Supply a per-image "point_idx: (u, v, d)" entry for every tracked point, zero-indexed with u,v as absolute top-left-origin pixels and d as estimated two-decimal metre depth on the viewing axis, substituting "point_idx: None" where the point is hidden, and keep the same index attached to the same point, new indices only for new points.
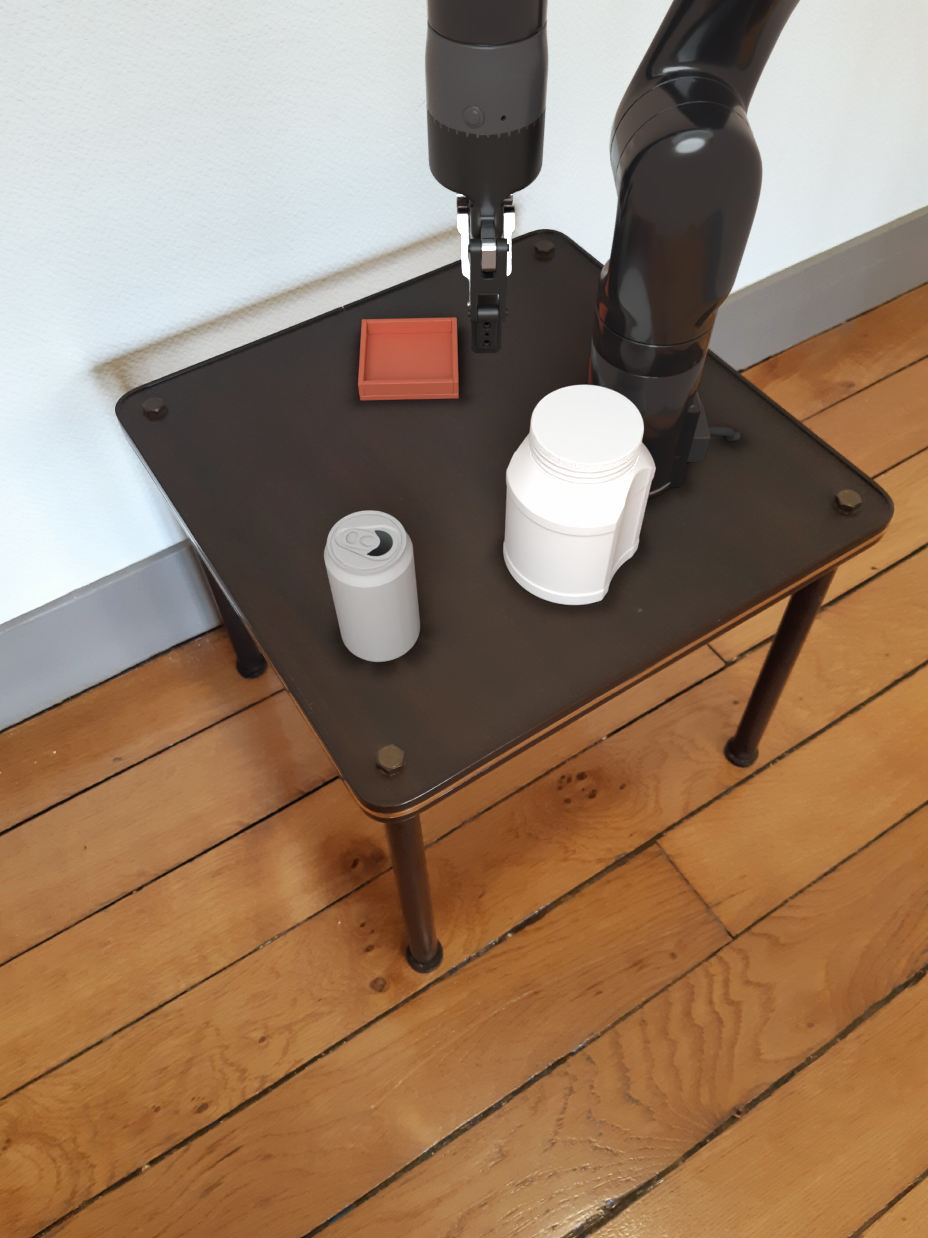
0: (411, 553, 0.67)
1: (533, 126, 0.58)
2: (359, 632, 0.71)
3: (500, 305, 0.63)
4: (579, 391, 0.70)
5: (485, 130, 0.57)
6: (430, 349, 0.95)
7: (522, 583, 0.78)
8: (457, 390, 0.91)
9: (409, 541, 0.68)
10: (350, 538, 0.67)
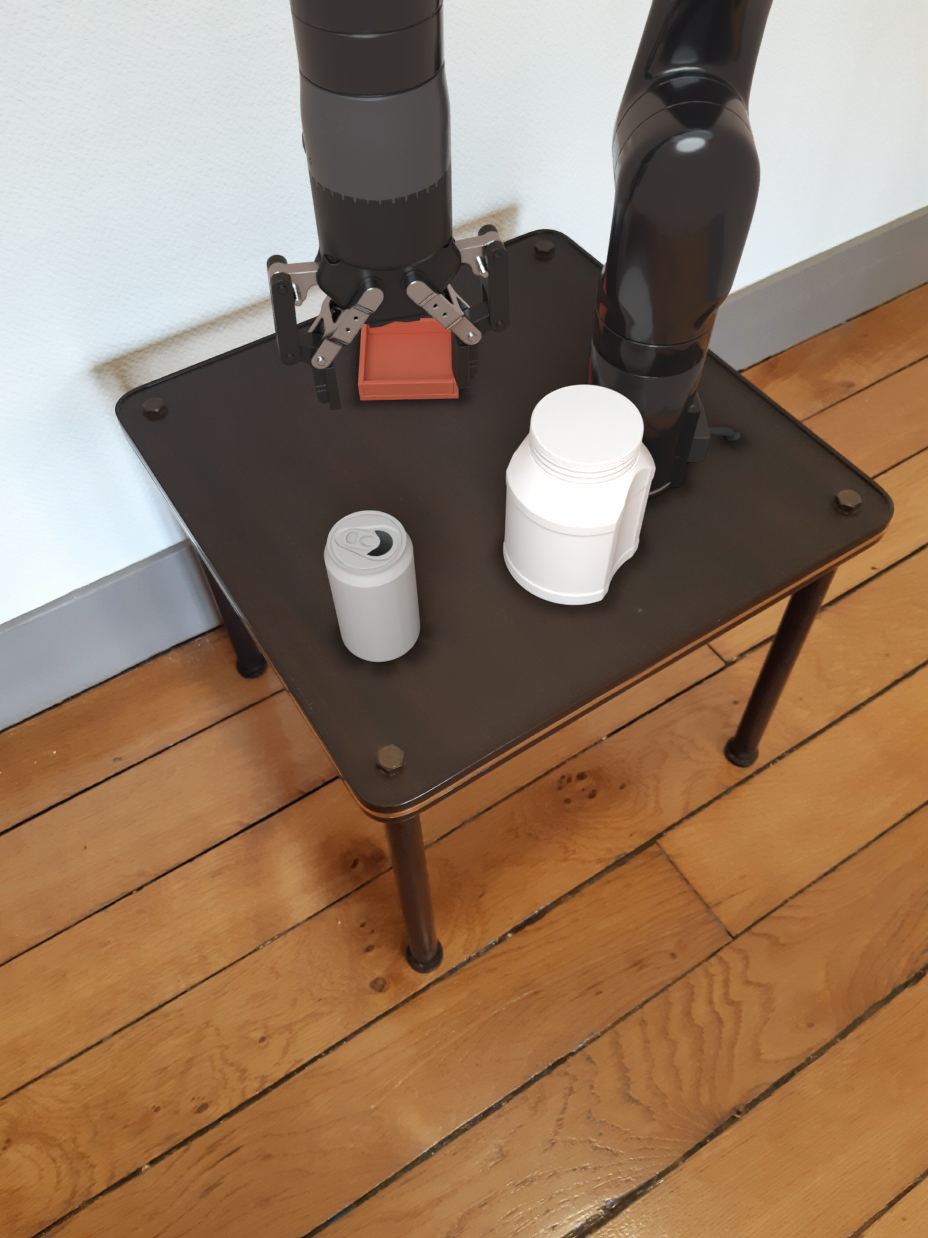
0: (411, 553, 0.67)
1: (343, 200, 0.47)
2: (359, 632, 0.71)
3: None
4: (579, 391, 0.70)
5: None
6: (430, 349, 0.95)
7: (522, 583, 0.78)
8: (457, 390, 0.91)
9: (409, 541, 0.68)
10: (350, 538, 0.67)
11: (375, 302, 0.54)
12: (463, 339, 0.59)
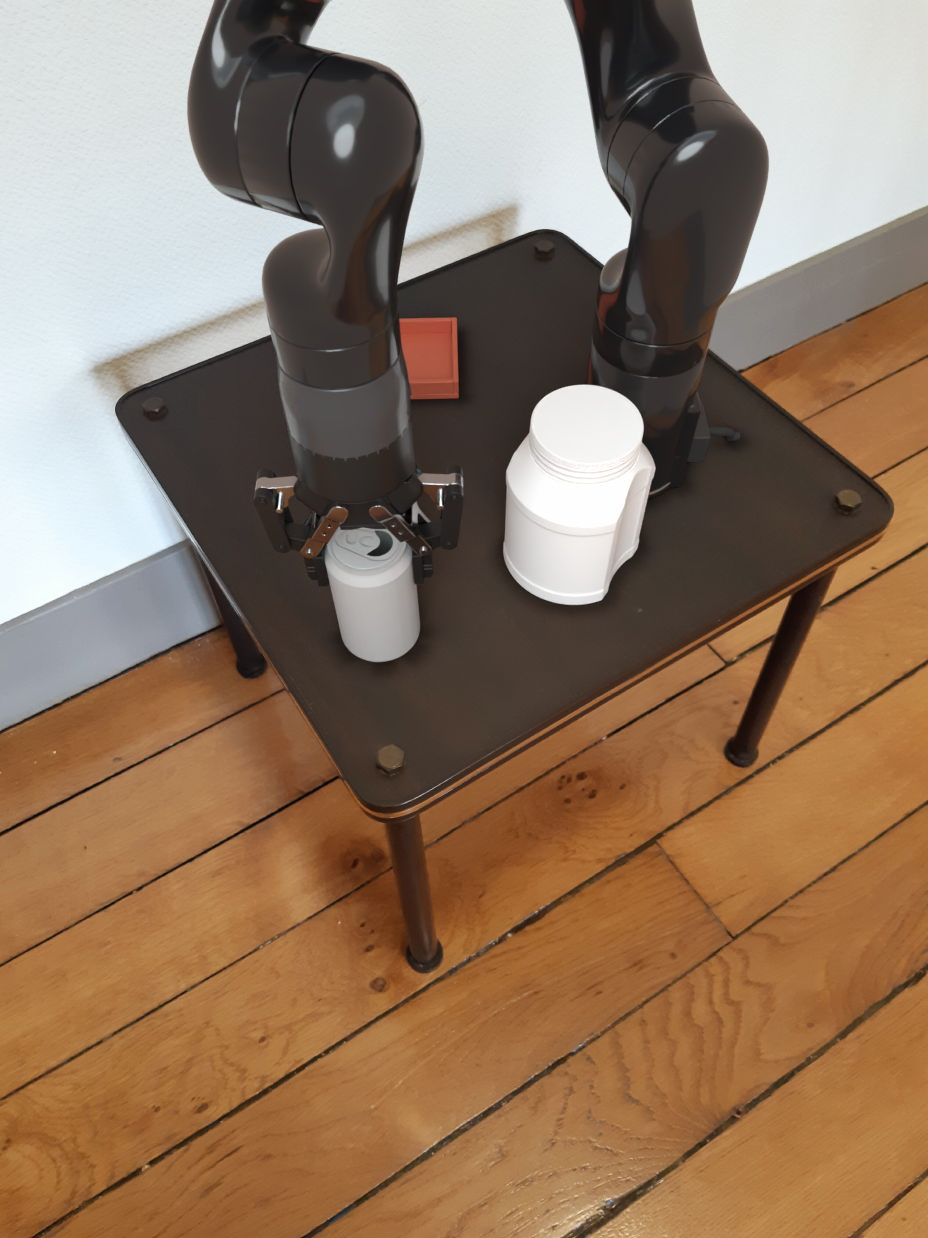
0: (411, 553, 0.67)
1: (305, 450, 0.55)
2: (359, 632, 0.71)
3: None
4: (579, 391, 0.70)
5: None
6: (430, 349, 0.95)
7: (522, 583, 0.78)
8: (457, 390, 0.91)
9: None
10: (350, 538, 0.67)
11: (341, 516, 0.61)
12: (415, 551, 0.66)
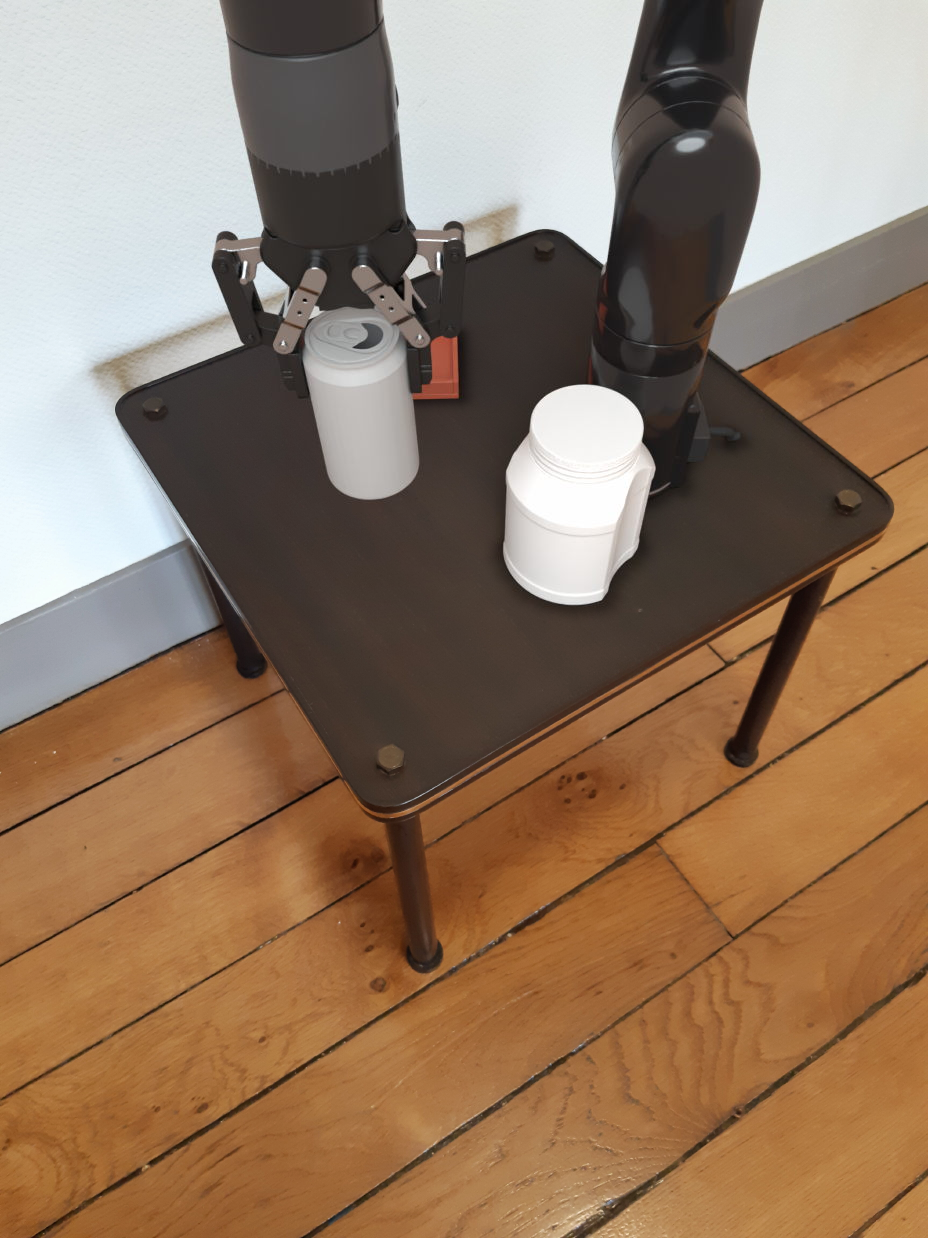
0: (405, 349, 0.56)
1: (267, 169, 0.44)
2: (346, 456, 0.60)
3: None
4: (579, 391, 0.70)
5: None
6: None
7: (522, 583, 0.78)
8: (457, 390, 0.91)
9: (403, 337, 0.57)
10: (332, 332, 0.56)
11: (318, 283, 0.51)
12: (410, 341, 0.55)
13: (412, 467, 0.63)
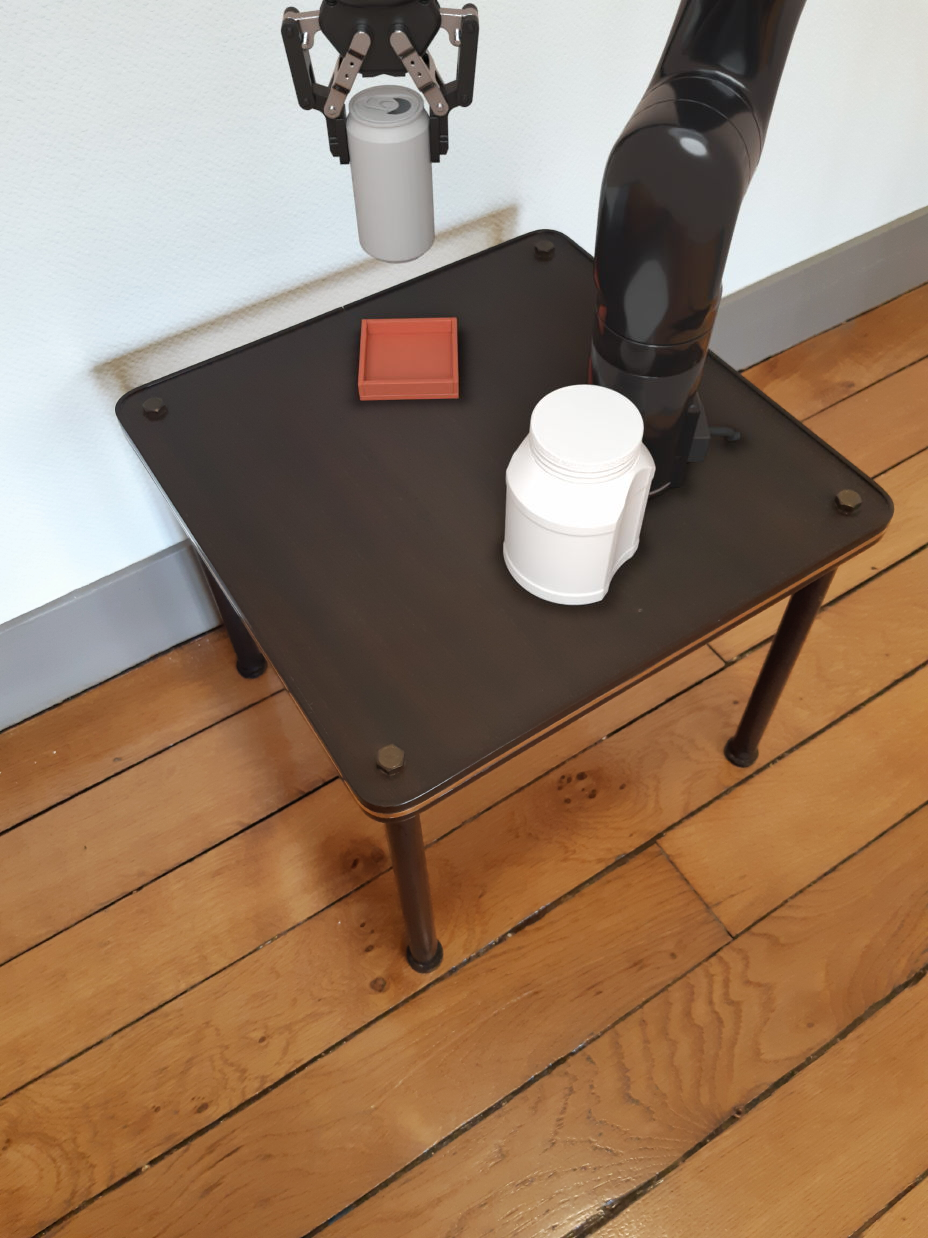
0: (428, 120, 0.71)
1: None
2: (377, 216, 0.74)
3: None
4: (579, 391, 0.70)
5: None
6: (430, 349, 0.95)
7: (522, 583, 0.78)
8: (457, 390, 0.91)
9: (426, 111, 0.71)
10: (370, 103, 0.70)
11: (363, 46, 0.65)
12: (432, 109, 0.69)
13: (429, 235, 0.77)
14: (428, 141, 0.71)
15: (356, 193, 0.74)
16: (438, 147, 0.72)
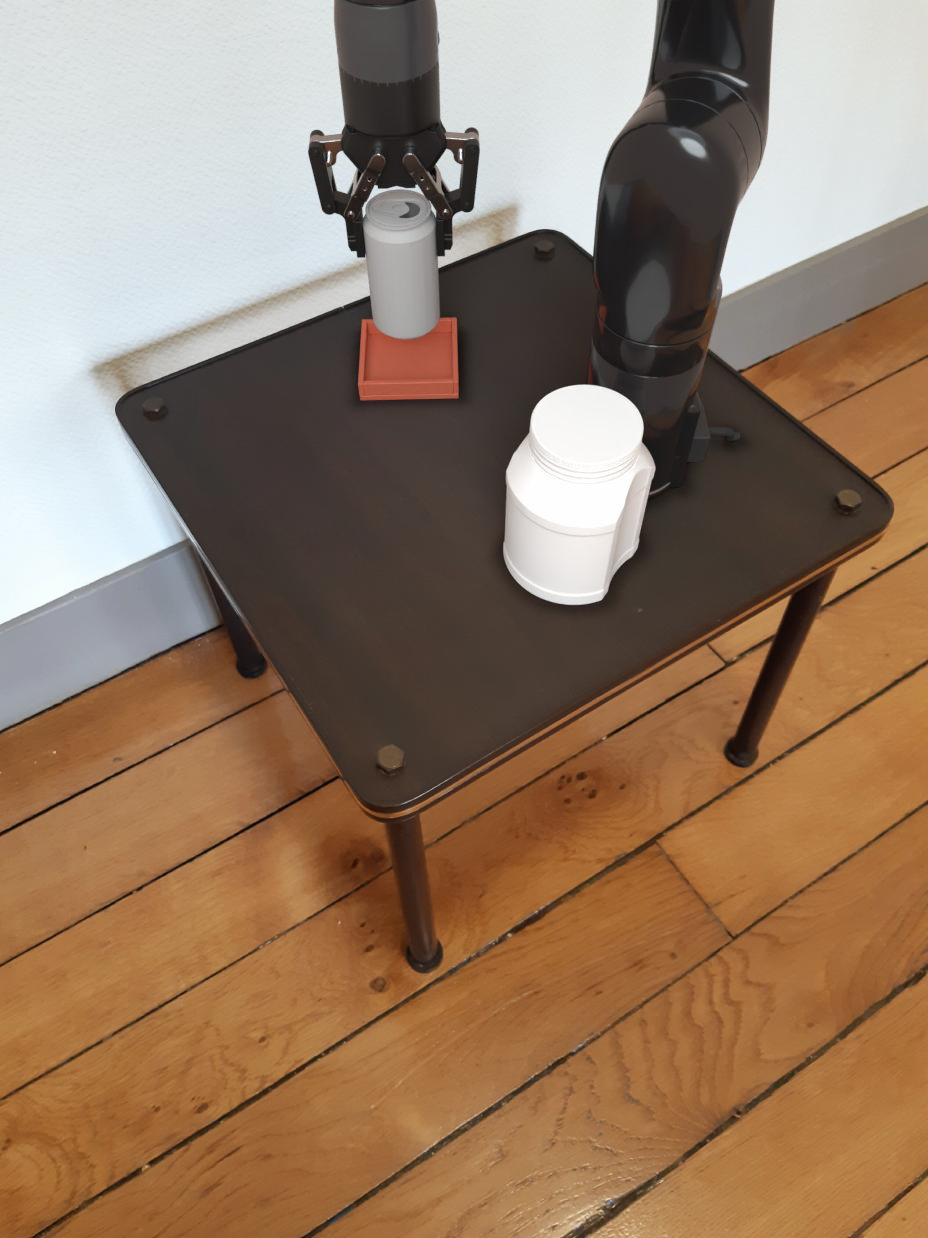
0: (435, 221, 0.81)
1: (354, 80, 0.69)
2: (390, 301, 0.84)
3: (319, 195, 0.78)
4: (579, 391, 0.70)
5: None
6: (430, 349, 0.95)
7: (522, 583, 0.78)
8: (457, 390, 0.91)
9: (433, 213, 0.81)
10: (384, 207, 0.80)
11: (379, 166, 0.75)
12: (439, 213, 0.79)
13: (435, 316, 0.87)
14: (435, 239, 0.81)
15: (371, 281, 0.84)
16: (443, 244, 0.82)
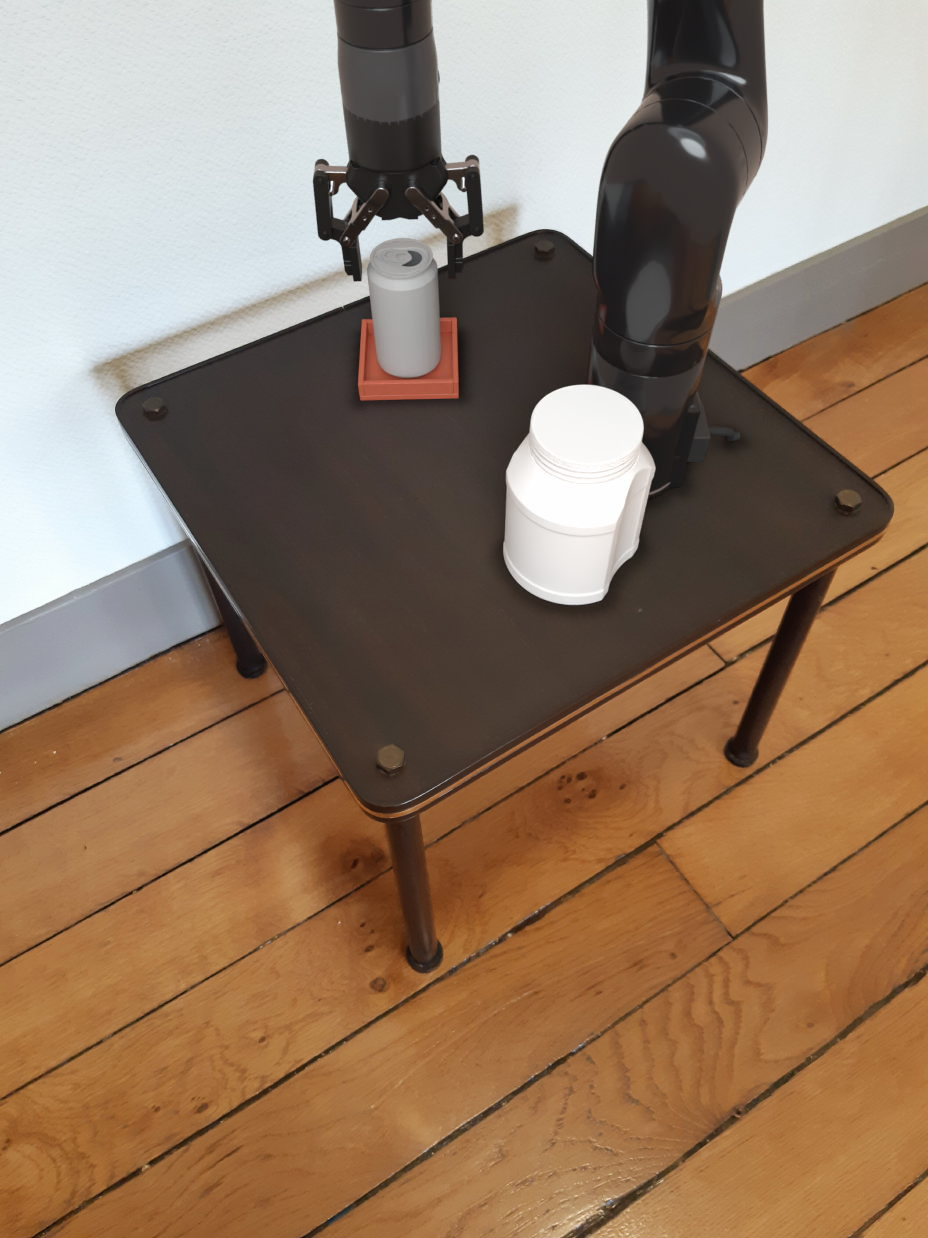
0: (436, 269, 0.85)
1: (357, 119, 0.71)
2: (393, 343, 0.88)
3: (317, 221, 0.80)
4: (579, 391, 0.70)
5: None
6: None
7: (522, 583, 0.78)
8: (457, 390, 0.91)
9: (434, 260, 0.85)
10: (388, 255, 0.84)
11: (383, 199, 0.77)
12: (449, 238, 0.81)
13: (436, 356, 0.91)
14: (436, 285, 0.85)
15: (375, 324, 0.88)
16: (454, 267, 0.84)
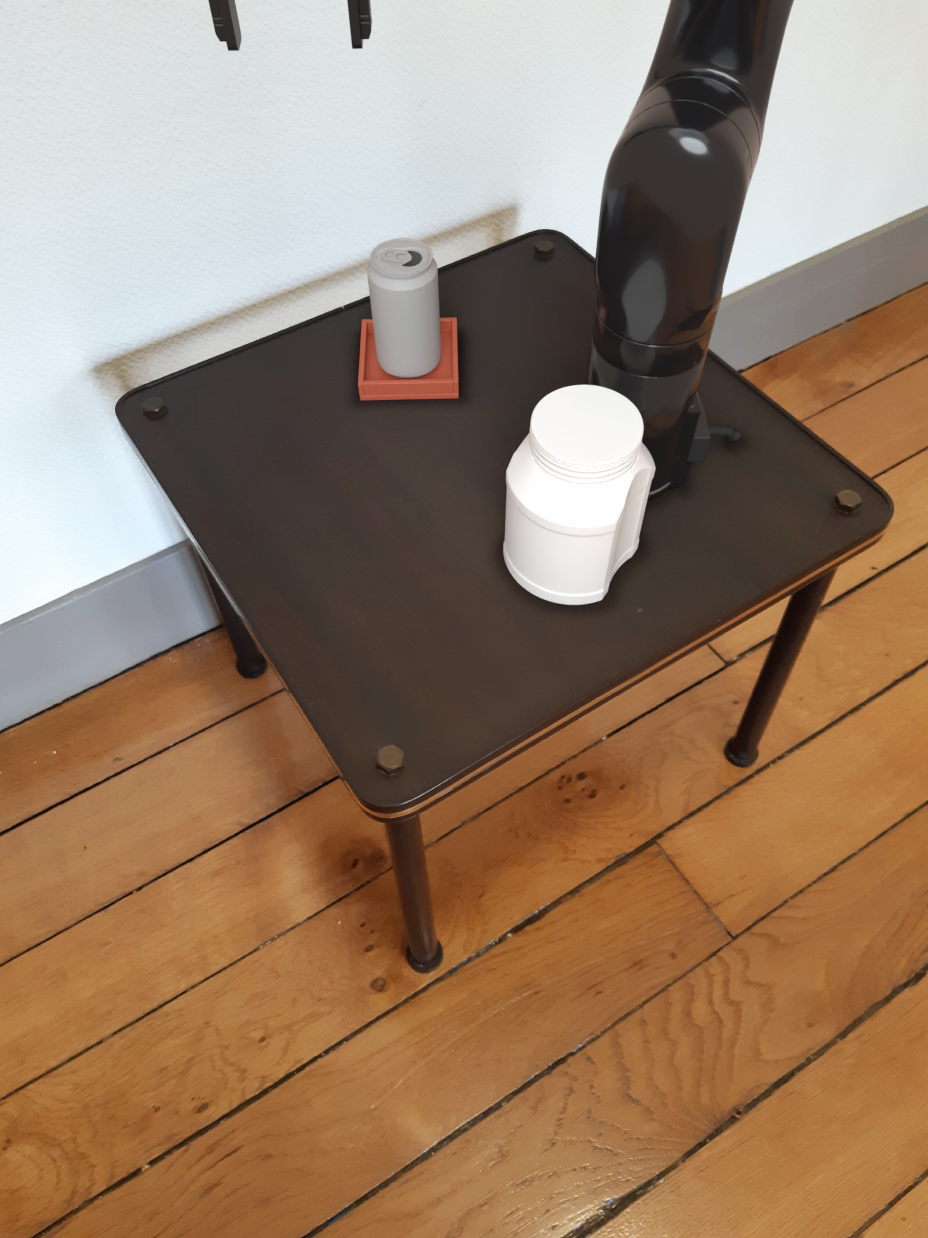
0: (436, 269, 0.85)
1: None
2: (393, 343, 0.88)
3: None
4: (579, 391, 0.70)
5: None
6: None
7: (522, 583, 0.78)
8: (457, 390, 0.91)
9: (434, 260, 0.85)
10: (388, 255, 0.84)
11: None
12: None
13: (436, 356, 0.91)
14: (436, 285, 0.85)
15: (375, 324, 0.88)
16: (359, 29, 0.64)
